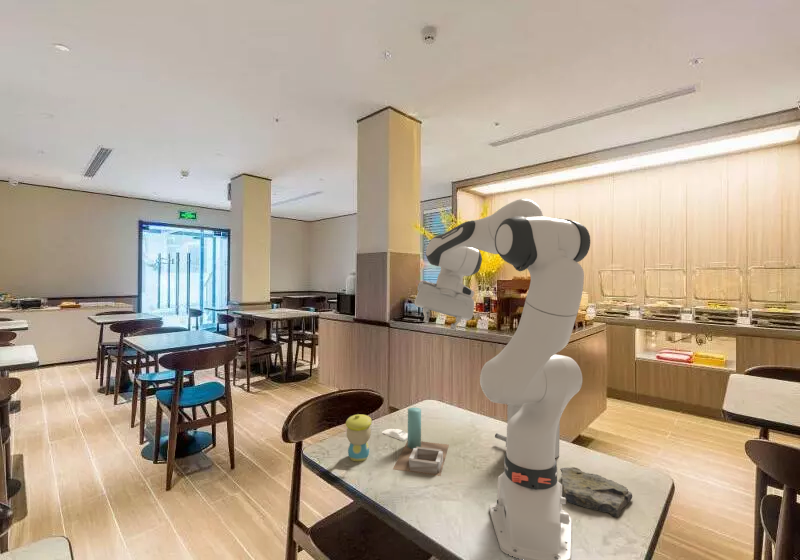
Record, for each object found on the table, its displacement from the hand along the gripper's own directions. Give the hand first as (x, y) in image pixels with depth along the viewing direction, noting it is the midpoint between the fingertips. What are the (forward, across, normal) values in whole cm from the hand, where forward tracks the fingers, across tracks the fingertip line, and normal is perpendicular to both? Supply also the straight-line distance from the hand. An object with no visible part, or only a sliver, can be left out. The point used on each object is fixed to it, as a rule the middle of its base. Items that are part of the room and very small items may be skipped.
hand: (439, 325), depth 126 cm
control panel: (+33, +36, +5) cm, 49 cm away
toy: (+48, -14, +4) cm, 50 cm away
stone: (+37, +48, -18) cm, 63 cm away
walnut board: (+42, +5, +3) cm, 43 cm away
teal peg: (+39, +2, +9) cm, 41 cm away
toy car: (+40, -3, +19) cm, 44 cm away
